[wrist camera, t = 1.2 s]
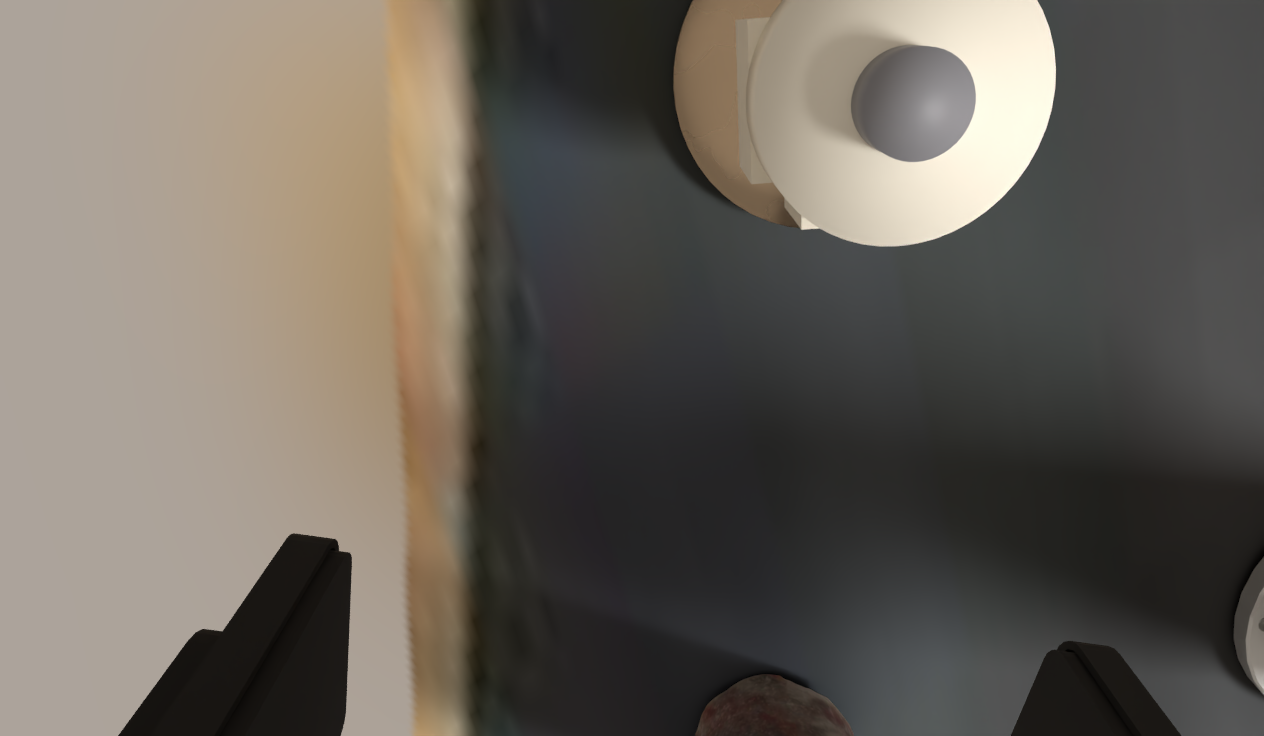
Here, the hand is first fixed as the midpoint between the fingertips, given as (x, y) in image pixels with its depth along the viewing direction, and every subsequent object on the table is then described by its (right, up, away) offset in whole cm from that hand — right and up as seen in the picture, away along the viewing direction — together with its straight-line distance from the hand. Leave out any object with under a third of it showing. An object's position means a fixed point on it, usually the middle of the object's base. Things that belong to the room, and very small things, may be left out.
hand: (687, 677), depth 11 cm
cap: (+6, +12, +13) cm, 18 cm away
